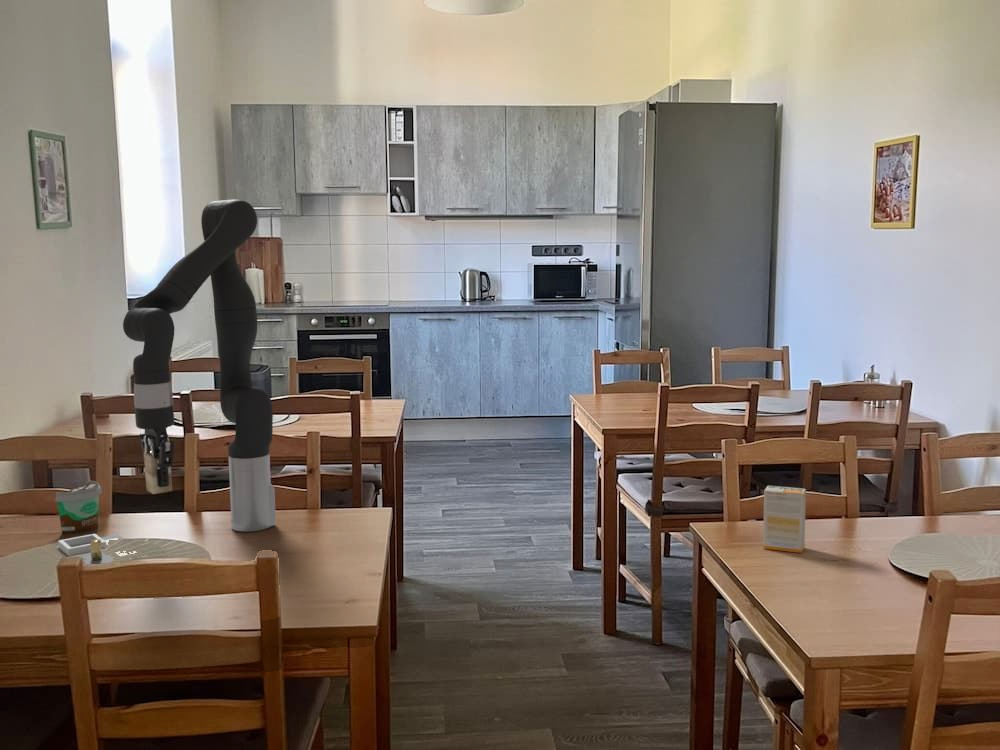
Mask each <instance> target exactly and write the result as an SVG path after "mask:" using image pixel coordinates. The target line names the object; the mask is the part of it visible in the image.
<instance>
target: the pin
mask: <svg viewBox="0 0 1000 750" xmlns="http://www.w3.org/2000/svg"><path fill="white" fill-rule="evenodd" d="M90 545H91V560H92V561H99V560H102V550H101V540H100V539H95V540H91V541H90Z"/></svg>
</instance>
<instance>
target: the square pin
mask: <svg viewBox="0 0 1000 750" xmlns="http://www.w3.org/2000/svg"><path fill="white" fill-rule="evenodd" d="M156 454H158V455H159V453H156ZM143 462H144V475H145V487H146V491H147V492H149V493H150V494H152V495H156V494H162V493H168V492H172V491H173V483H172V482H173V480H172V467H169V468H168V475H169V485H168V486H166V487H158V485H157V471H156V470H157V469H156V464H155V459H153V456H152V455H151V453H144V459H143ZM163 462H165V459H164V460H163Z"/></svg>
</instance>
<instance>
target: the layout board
mask: <svg viewBox="0 0 1000 750" xmlns="http://www.w3.org/2000/svg"><path fill="white" fill-rule="evenodd" d="M95 539H100V540H101V549H105V548H106V545H109V544H108V542H109V540H118V539H125V538H124V537H123V536H121V535H119V534H114V535H108V536H102V537H100V536H99V535H97V534H96V533H92V534H85V535H81V536H74V537H70V538H66V539H59V540H57V542H58V545H56V546H55V548H57V549H58V550H59V551H60V552H61V553H63V554H64V555H65V556H66V557H67V558H68V557H71V556H80V557H83V558H84V559H85V558H86V560H85V563H86V564H101V563H109V562H112V561H114V560H113V558H114V557H111V556H110V555H105V553H103V552H102V560H99V561H92V560H91V545H90V541H91V540H95ZM106 550H107V549H106ZM106 550H102V551H106ZM123 552H124V553H120V551H118V552H115V553H116V554H117V555H118V556H120V557H122V556H126V555H128V554H127V553H125V552H126V551H123ZM119 553H120V554H119ZM129 553H130V554H135V553H137V552H136V551H133V553H131V552H129ZM130 554H129V555H130ZM146 555H147V554H146ZM146 555H145V556H142V555H141V556H142V557H144V558H148V557H149V555H148V556H146ZM138 558H139V557H138ZM129 559H132V558H129Z"/></svg>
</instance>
